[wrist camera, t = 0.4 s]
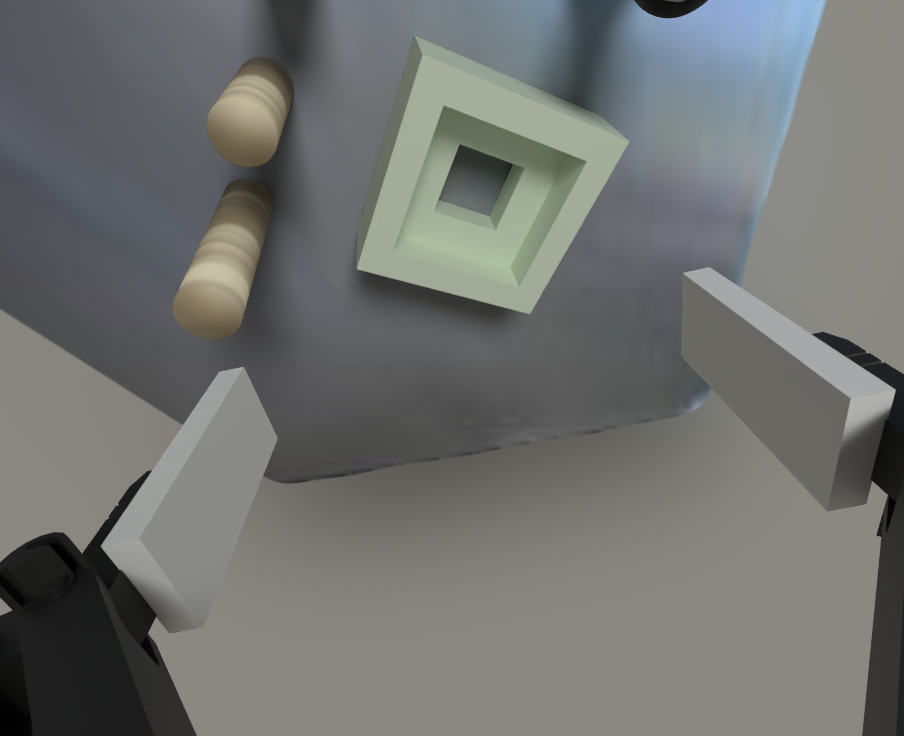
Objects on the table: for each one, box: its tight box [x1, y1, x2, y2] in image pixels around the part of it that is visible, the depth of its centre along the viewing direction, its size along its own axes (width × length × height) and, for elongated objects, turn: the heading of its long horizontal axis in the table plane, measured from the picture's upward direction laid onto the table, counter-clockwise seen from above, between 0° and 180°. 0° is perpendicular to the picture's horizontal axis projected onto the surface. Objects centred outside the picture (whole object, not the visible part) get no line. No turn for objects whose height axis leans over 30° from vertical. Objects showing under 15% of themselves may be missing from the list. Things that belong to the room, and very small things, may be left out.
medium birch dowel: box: [207, 57, 294, 167], centre depth 30 cm, size 3×3×9 cm
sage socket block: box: [357, 36, 629, 314], centre depth 37 cm, size 14×14×6 cm
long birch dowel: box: [172, 179, 273, 339], centre depth 33 cm, size 3×3×14 cm
